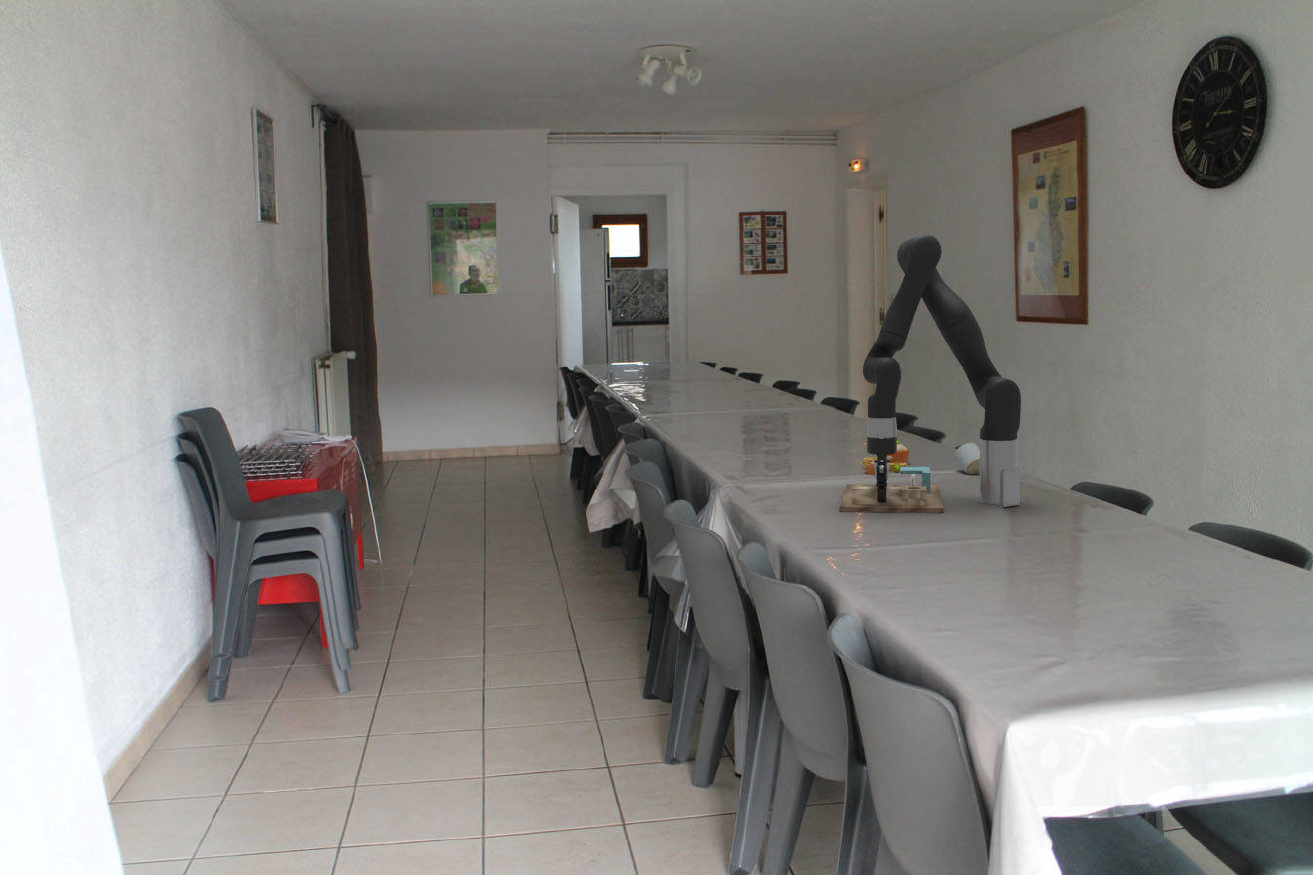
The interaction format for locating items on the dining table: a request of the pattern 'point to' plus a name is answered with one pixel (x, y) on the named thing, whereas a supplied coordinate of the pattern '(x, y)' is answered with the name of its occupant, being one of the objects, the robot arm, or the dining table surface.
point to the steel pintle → (913, 479)
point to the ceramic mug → (969, 458)
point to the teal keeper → (919, 470)
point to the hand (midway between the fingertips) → (882, 500)
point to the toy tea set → (895, 460)
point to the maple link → (891, 495)
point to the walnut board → (931, 506)
